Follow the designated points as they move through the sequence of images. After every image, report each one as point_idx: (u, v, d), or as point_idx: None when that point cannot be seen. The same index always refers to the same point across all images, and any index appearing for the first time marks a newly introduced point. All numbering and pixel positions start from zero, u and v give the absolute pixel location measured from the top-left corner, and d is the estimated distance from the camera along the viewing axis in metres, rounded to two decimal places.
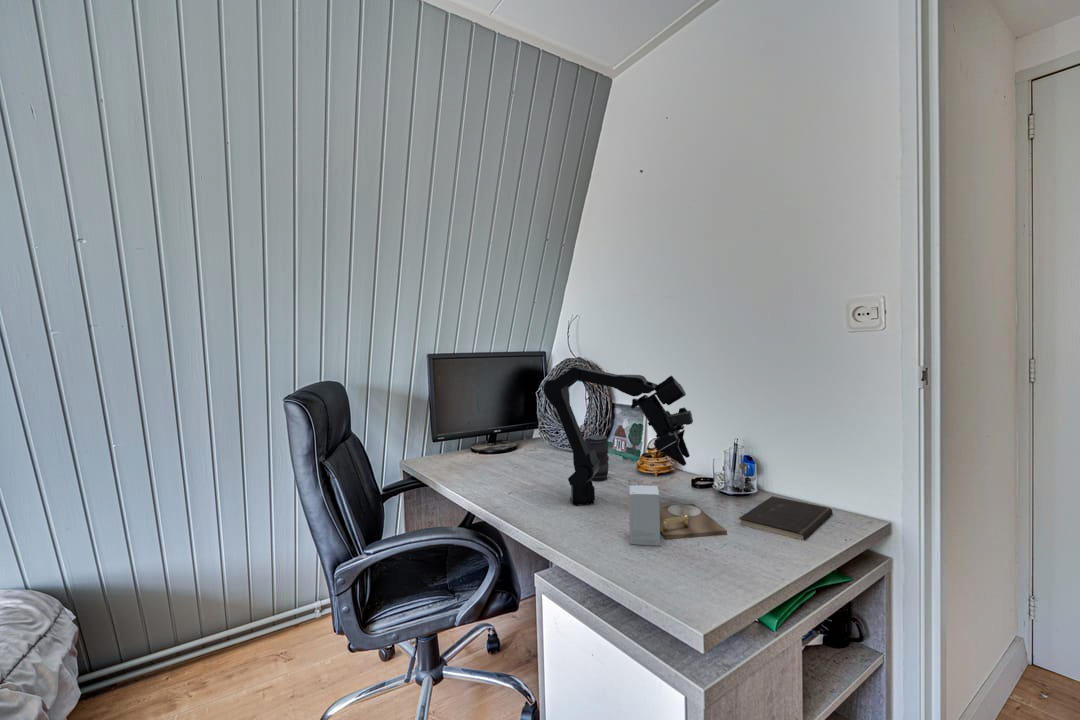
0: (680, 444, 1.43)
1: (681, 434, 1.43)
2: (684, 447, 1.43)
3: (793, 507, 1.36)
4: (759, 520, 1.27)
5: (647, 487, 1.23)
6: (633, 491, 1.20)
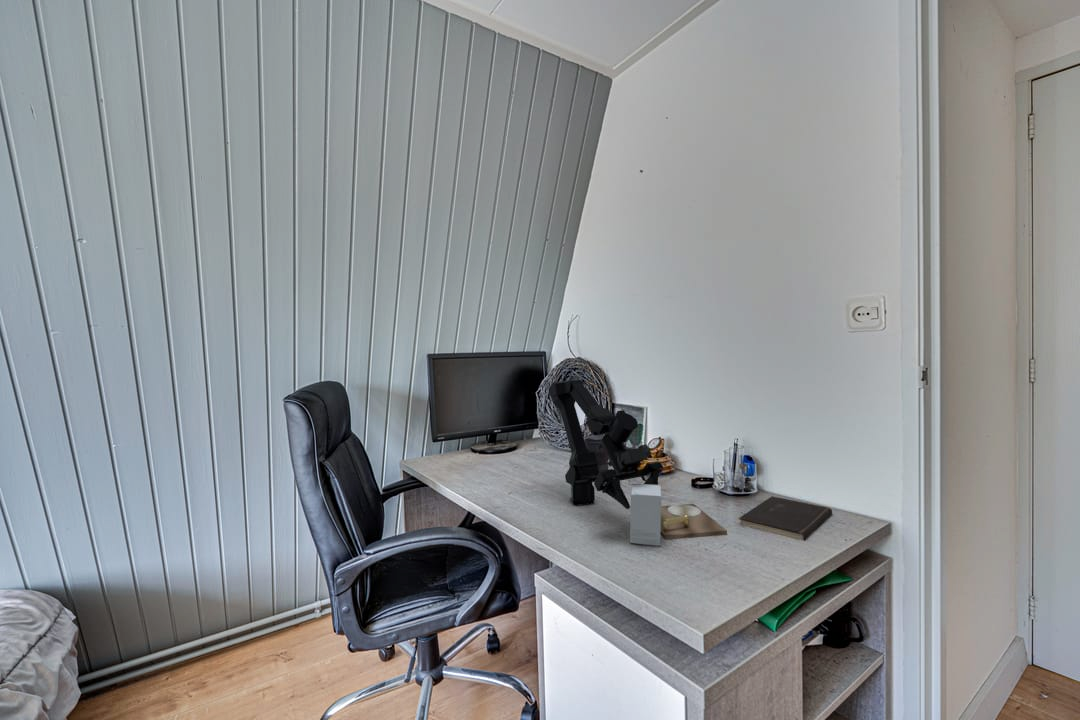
0: None
1: (652, 475, 1.27)
2: None
3: (793, 507, 1.36)
4: (759, 520, 1.27)
5: (649, 486, 1.22)
6: (635, 491, 1.19)
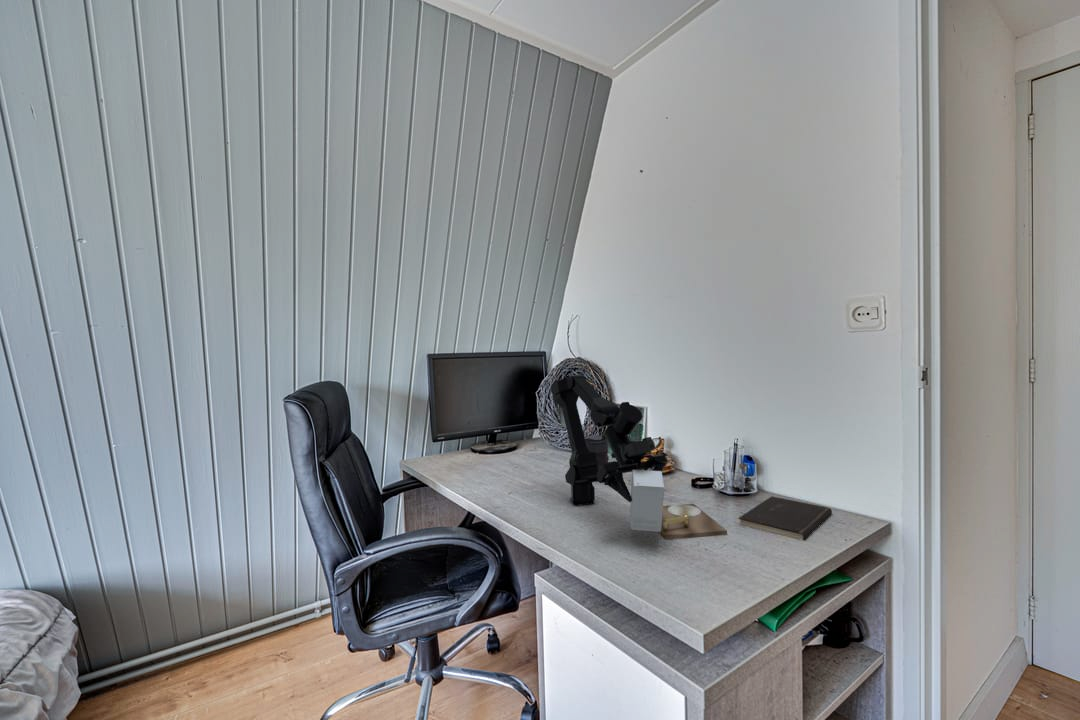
0: None
1: (655, 468, 1.25)
2: None
3: (792, 507, 1.36)
4: (759, 520, 1.27)
5: (651, 474, 1.19)
6: (637, 481, 1.17)
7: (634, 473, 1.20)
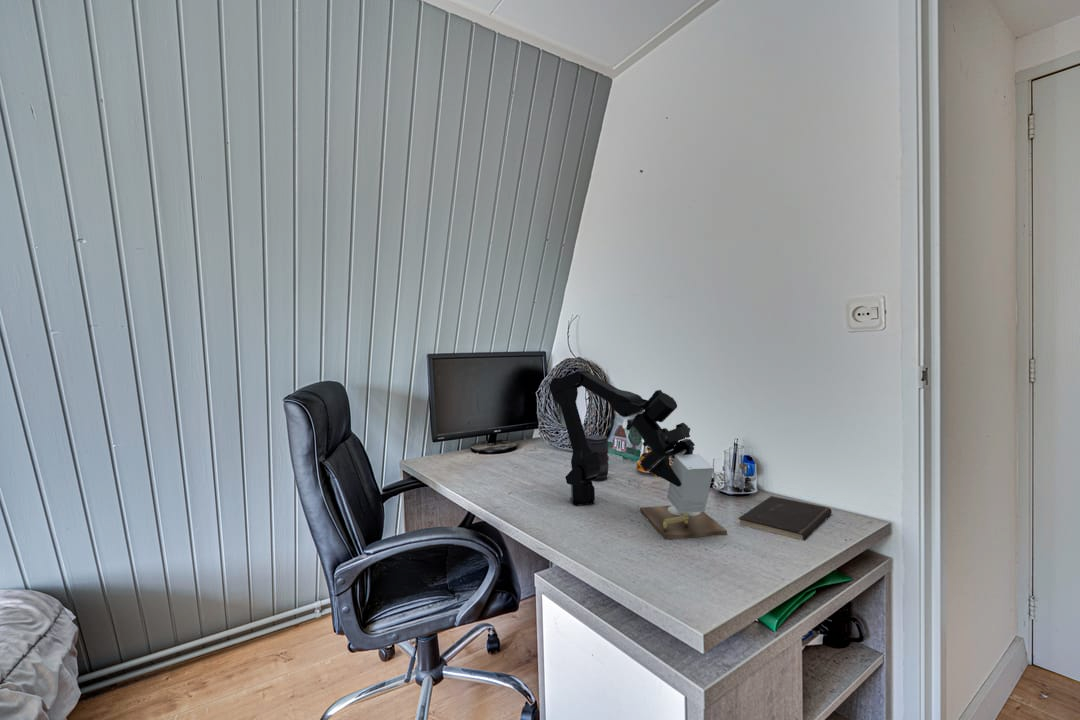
0: None
1: (687, 452, 1.30)
2: None
3: (792, 507, 1.36)
4: (759, 520, 1.27)
5: (694, 457, 1.24)
6: (688, 465, 1.20)
7: (679, 458, 1.23)
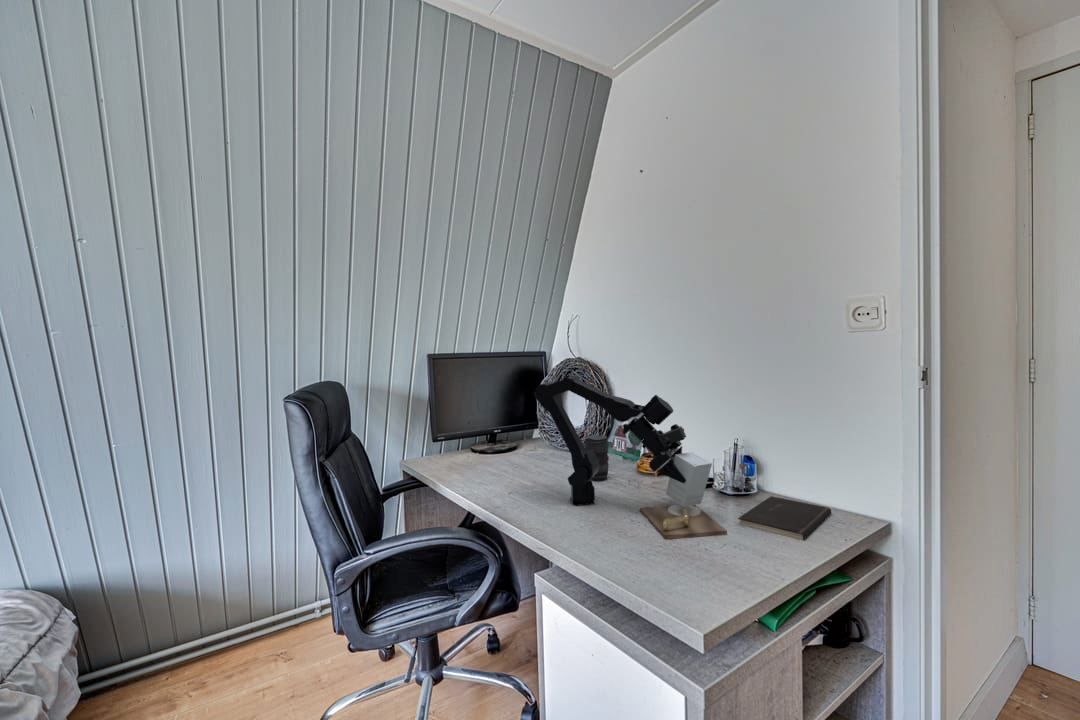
0: None
1: (679, 451, 1.42)
2: None
3: (792, 507, 1.36)
4: (759, 520, 1.27)
5: (691, 455, 1.37)
6: (692, 462, 1.32)
7: (681, 457, 1.35)
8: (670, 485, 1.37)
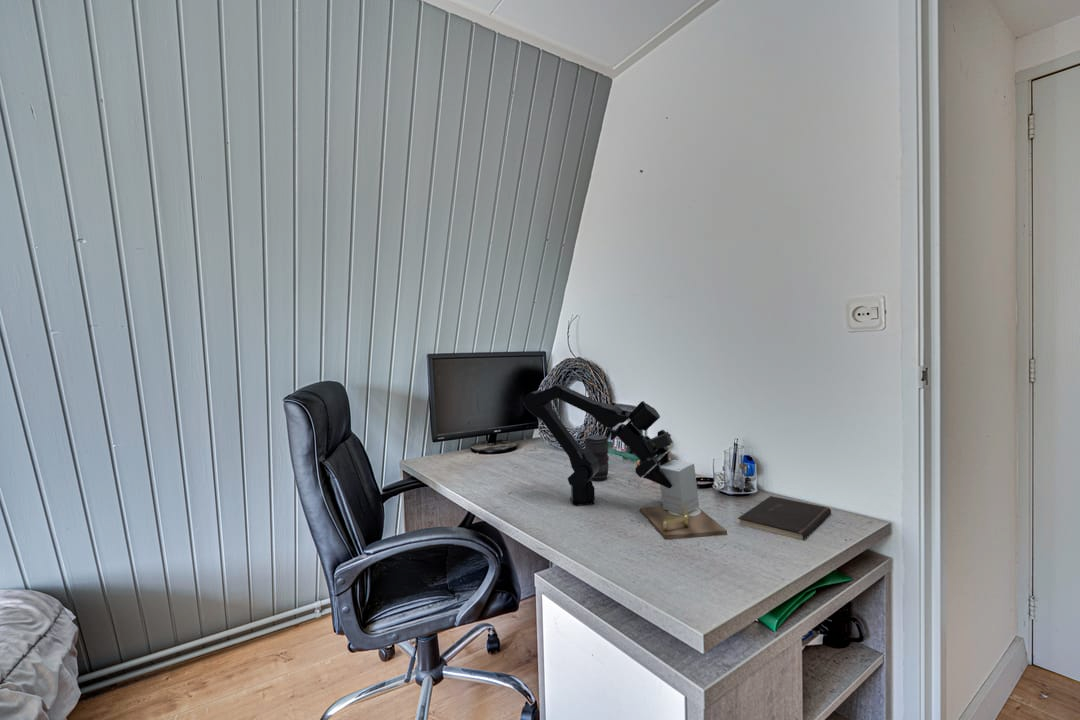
0: None
1: (666, 456, 1.44)
2: None
3: (792, 507, 1.36)
4: (759, 520, 1.27)
5: (673, 462, 1.39)
6: (675, 468, 1.34)
7: (663, 467, 1.37)
8: (664, 498, 1.38)
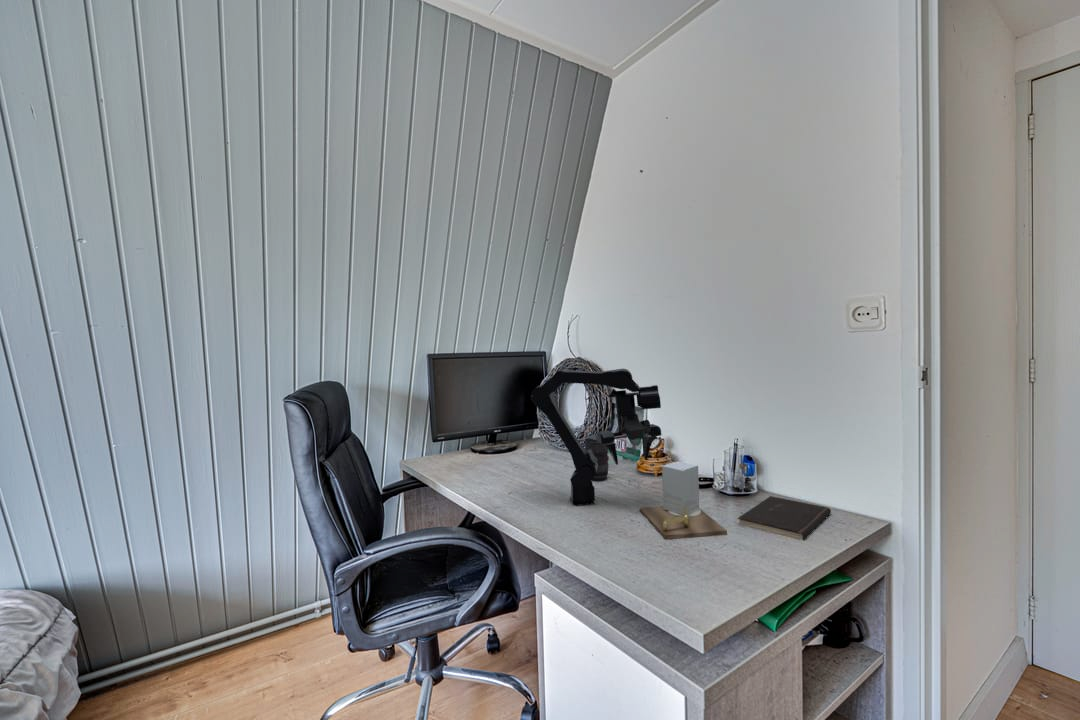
0: (645, 446, 1.48)
1: (647, 439, 1.46)
2: (645, 450, 1.47)
3: (791, 507, 1.36)
4: (759, 520, 1.27)
5: (677, 463, 1.40)
6: (679, 468, 1.35)
7: (667, 466, 1.37)
8: (665, 498, 1.38)
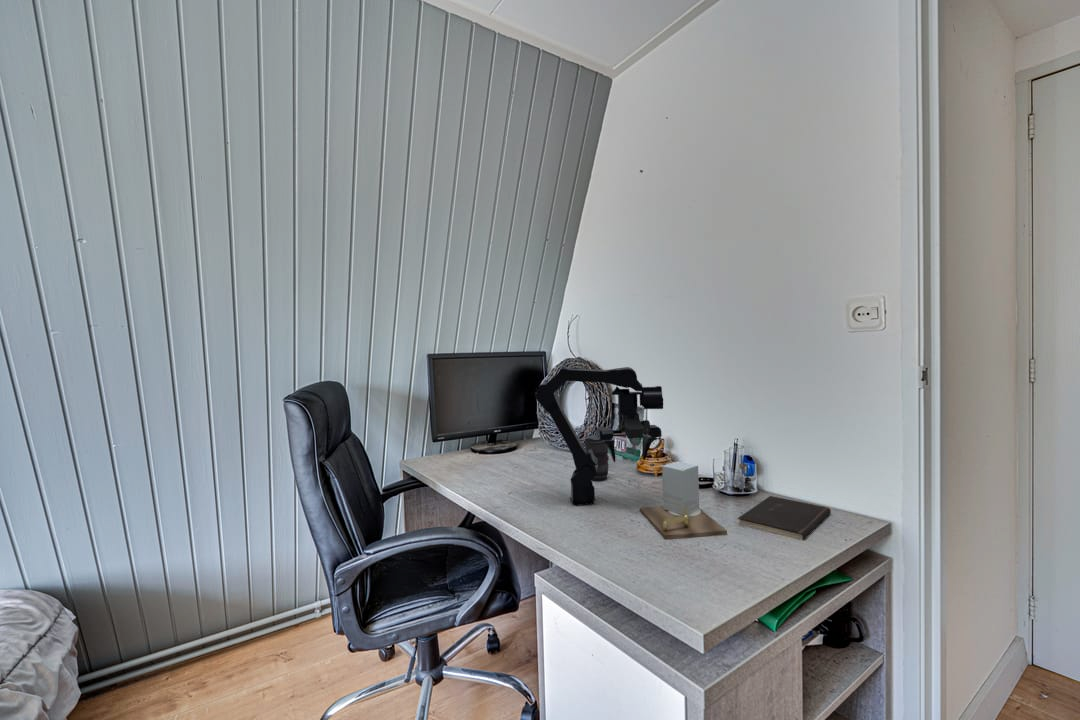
0: (644, 446, 1.48)
1: (647, 440, 1.46)
2: (644, 450, 1.47)
3: (791, 507, 1.36)
4: (759, 520, 1.27)
5: (677, 463, 1.40)
6: (679, 468, 1.35)
7: (667, 466, 1.37)
8: (665, 498, 1.38)
